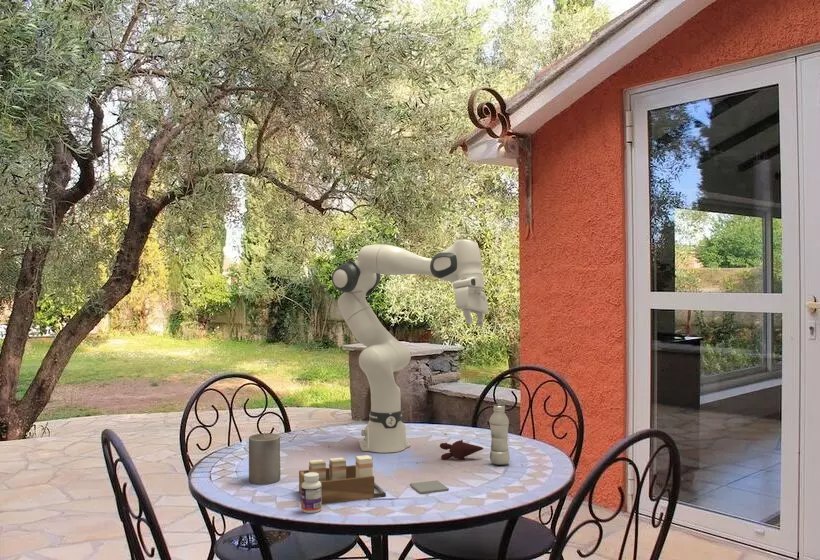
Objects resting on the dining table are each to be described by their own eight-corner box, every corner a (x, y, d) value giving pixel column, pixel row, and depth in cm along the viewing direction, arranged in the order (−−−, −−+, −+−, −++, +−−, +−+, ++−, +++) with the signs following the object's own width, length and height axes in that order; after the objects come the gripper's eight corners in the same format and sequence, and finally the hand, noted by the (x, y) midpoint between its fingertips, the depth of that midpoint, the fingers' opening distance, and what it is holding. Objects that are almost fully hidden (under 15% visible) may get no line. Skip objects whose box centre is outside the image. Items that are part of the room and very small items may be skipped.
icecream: (481, 438, 240) (439, 441, 240) (482, 437, 233) (439, 441, 233) (483, 458, 238) (441, 461, 239) (484, 458, 231) (441, 462, 231)
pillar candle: (253, 475, 217) (252, 429, 217) (283, 475, 216) (283, 428, 216) (245, 485, 207) (244, 436, 207) (276, 485, 207) (276, 436, 207)
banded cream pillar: (355, 490, 201) (355, 456, 201) (368, 488, 202) (368, 455, 202) (359, 494, 197) (359, 459, 197) (372, 492, 199) (372, 458, 199)
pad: (409, 485, 205) (409, 483, 205) (437, 482, 208) (437, 480, 208) (420, 494, 197) (420, 491, 197) (448, 490, 200) (448, 488, 200)
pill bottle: (302, 507, 186) (302, 471, 186) (322, 506, 186) (321, 471, 186) (300, 513, 180) (300, 477, 180) (321, 513, 181) (320, 476, 181)
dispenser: (299, 491, 200) (298, 457, 200) (371, 483, 208) (371, 450, 208) (308, 505, 187) (308, 469, 187) (385, 496, 195) (385, 461, 195)
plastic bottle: (509, 467, 225) (508, 407, 225) (488, 466, 226) (488, 406, 226) (510, 462, 231) (509, 403, 231) (490, 461, 232) (490, 403, 232)
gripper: (473, 290, 242) (477, 328, 239) (450, 282, 224) (454, 323, 221) (490, 287, 239) (494, 326, 236) (467, 279, 221) (472, 321, 218)
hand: (475, 324), depth 228 cm, fingers open, 8 cm apart
